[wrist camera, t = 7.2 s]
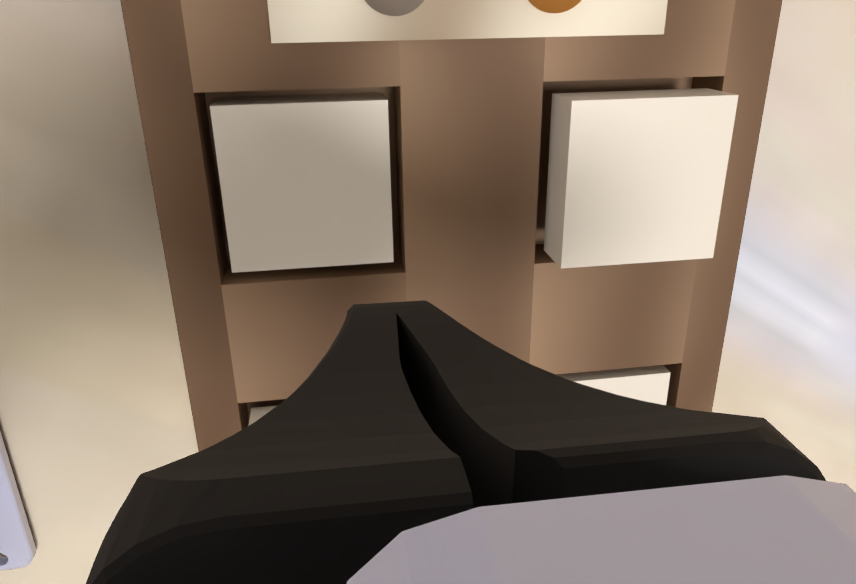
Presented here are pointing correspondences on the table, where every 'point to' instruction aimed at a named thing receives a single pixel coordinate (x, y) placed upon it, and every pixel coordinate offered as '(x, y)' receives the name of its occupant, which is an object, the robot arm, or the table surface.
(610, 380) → the button
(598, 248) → the button
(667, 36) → the button board
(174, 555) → the robot arm
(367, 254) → the button
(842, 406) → the table surface
